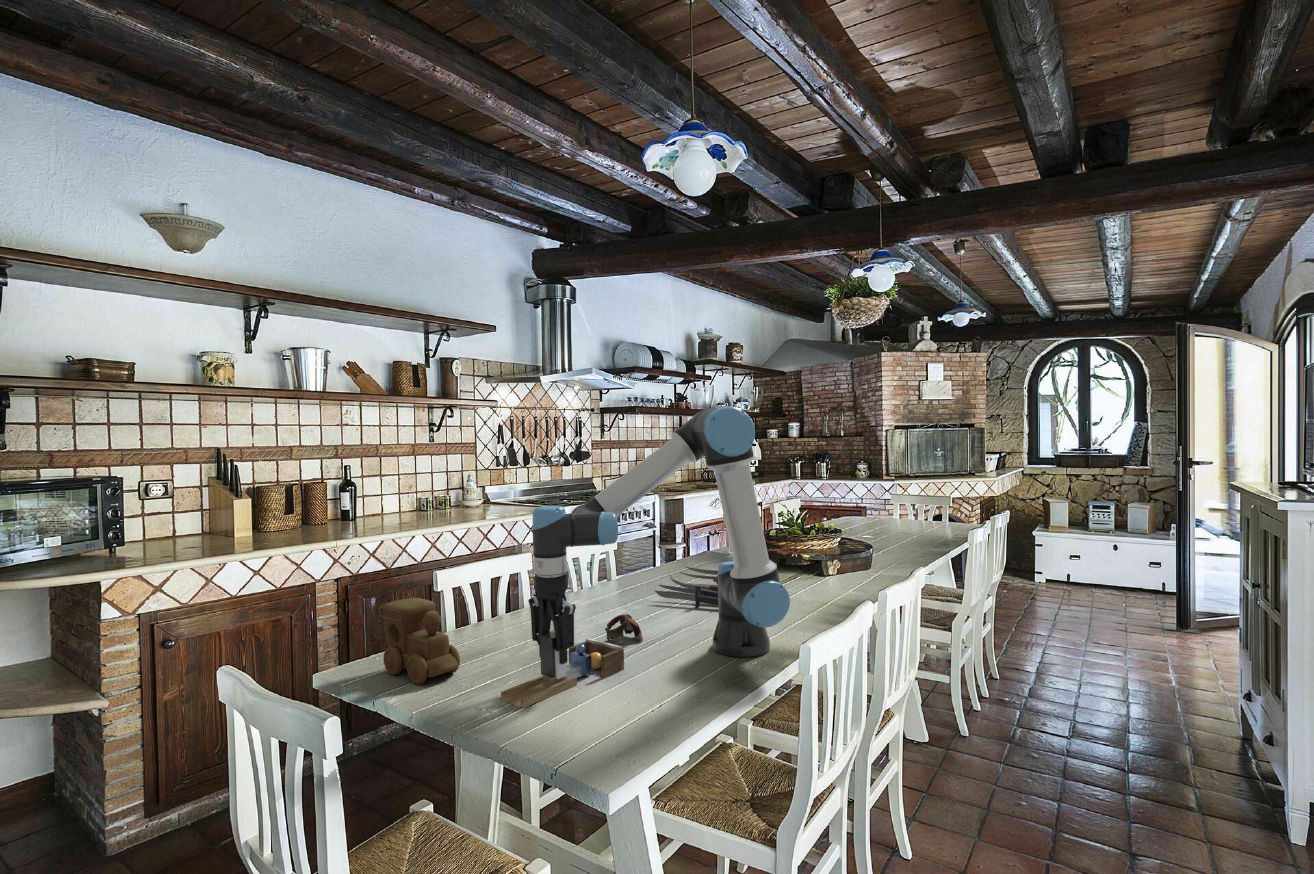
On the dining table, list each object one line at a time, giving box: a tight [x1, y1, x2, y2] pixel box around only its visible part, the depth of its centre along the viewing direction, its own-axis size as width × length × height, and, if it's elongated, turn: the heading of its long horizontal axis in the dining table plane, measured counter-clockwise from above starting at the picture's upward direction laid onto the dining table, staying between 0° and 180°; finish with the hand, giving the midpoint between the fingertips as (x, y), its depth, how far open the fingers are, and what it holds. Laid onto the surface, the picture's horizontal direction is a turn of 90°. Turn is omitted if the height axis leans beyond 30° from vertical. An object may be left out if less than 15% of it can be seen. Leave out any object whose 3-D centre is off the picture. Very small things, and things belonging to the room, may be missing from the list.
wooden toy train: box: [378, 597, 461, 685], centre depth 169 cm, size 20×11×17 cm, turn 52°
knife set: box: [654, 565, 718, 609], centre depth 239 cm, size 35×33×8 cm
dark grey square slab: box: [539, 631, 593, 687], centre depth 162 cm, size 5×12×12 cm, turn 142°
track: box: [500, 675, 578, 709], centre depth 155 cm, size 7×16×2 cm, turn 142°
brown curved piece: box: [605, 613, 644, 643], centre depth 192 cm, size 12×9×8 cm
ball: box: [590, 652, 602, 670], centre depth 170 cm, size 4×4×4 cm
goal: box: [568, 637, 625, 679], centre depth 170 cm, size 12×7×6 cm, turn 52°
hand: (553, 674), depth 159 cm, fingers closed on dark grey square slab, 4 cm apart
